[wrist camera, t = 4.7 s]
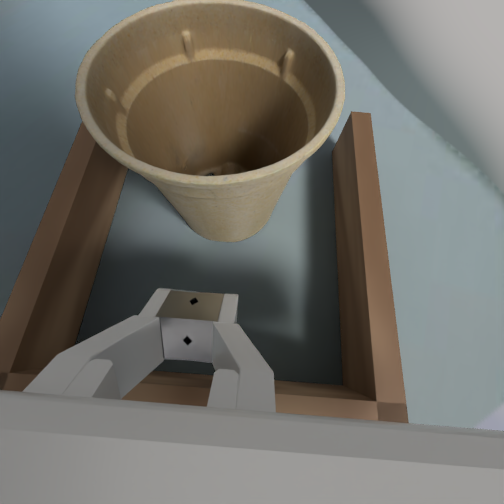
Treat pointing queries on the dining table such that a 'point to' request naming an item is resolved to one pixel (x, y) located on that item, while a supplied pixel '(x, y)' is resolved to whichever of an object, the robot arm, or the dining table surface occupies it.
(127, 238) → the dining table surface
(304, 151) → the flower pot
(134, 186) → the dining table surface
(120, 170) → the wooden u-shaped frame
